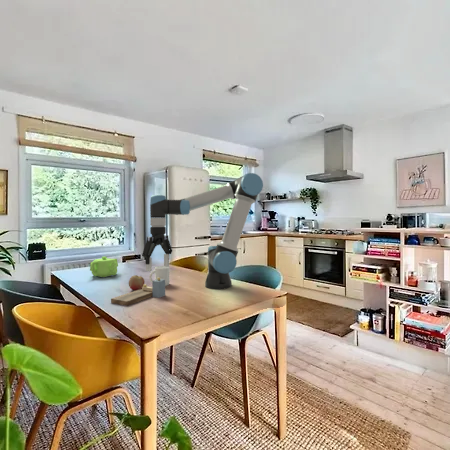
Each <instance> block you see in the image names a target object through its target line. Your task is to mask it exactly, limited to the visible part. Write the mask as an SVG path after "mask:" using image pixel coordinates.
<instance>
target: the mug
mask: <svg viewBox="0 0 450 450" xmlns="http://www.w3.org/2000/svg"><path fill="white" fill-rule="evenodd" d="M153 274H154V280H157V278H160V279H164V280H165V287H167V286H169V285H170V281H171V280H170V266H169V267H164V265H160V266H155V267H154V270H152V271H150V273H149V276H148V278H149V281H150V282H151V283H152V281H154V280H153Z"/></svg>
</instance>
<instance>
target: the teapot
mask: <svg viewBox="0 0 450 450" xmlns="http://www.w3.org/2000/svg"><path fill="white" fill-rule="evenodd" d="M118 267H119V264H118V258H109V257H108V256H101V258H97V259H94V260H93V261H91V262H90V266H89V271H91V275H92V276H93V277H96V276H98V277H101V278H102V277H104V278H106V277H112V276H111V275H113V276H115V275H117V274H118Z"/></svg>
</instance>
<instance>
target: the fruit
mask: <svg viewBox="0 0 450 450" xmlns="http://www.w3.org/2000/svg"><path fill="white" fill-rule="evenodd" d="M145 284H146V281H145V278H144V277H143V276H142V275H141V276H140V275H138V274H137V275H135V274H134V275H132V276H131V277H130V278H129V280H128V287H129V288H130V289H131V290H132V291H136V290H139V289H142V287H143V285H145Z"/></svg>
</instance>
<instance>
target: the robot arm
mask: <svg viewBox="0 0 450 450" xmlns="http://www.w3.org/2000/svg"><path fill="white" fill-rule="evenodd" d="M263 188H264V182H263V179H262V177H261V176H260V175H259V174H257V173H254V172H250V173H249V172H248V173H245V174H244V175H241V176H240V177H238V178H237V179H235V180H232V181H230V182H227V184H225V185H224V186H220V187H218V188H215V189H210V190H207V191H203V192H201V193H198V194H194V195H191V196H187V197H184V198H181V199H167V197H166V195H162V194H160V195H159V194H158V195H157V194H154V195H151V196H150V202H149V206H150V207H149V209H150V210H149V212H150V219H149V220H150V225H149V226H150V227H149V228H150V229H149V230H150V231H149V233H150V235H151V236H147V237H146V242H145V245H144V248H143V251H142V254H141V256H142V257H143V258H145V272H152V271H153V270H152V269H153V268H152V266H153V265H152V254H153V252H154V250H155V249H156V247H157V246H160V247H161V249H162V251H163V252H164V254H163V266H164V267H169V268H170V255H171V254H172V253H173V248H172V245H171V242H170V240H169V238H170V237H169V235H165V234H166V233H167V232H166V231H167V227H166V225H167V216H168V215H175V216H178V215H179V216H180V215H182V216H185V215H187V216H188V215H189V214H190V211H194V210H197V209H201V208H204V207H207V206H209V205H213V204H217V203H219V202H222V201H226V200H229V199H231V200H235V201H234V203H233V208H232V209H231V212H230V216H229V218H228V220H227V221H228V222H227V224H226V227H225V230H224V233H223V237H222V238H221V241H220V242H219V243H217V244H216V245H211V246H209V247H208V248H207V259H208V260H207V269H208V270H207V276H206V279H205V283H204V284H205V285H204V286H205V288H208V289H210V290H223V289H224V288H225V289H229V288H232V286H233V284H232V278H231V276H230V273H231V272H233V271H234V270H235V269H236V267H237V263H238V261H237V260H238V259H237V256H238V253H239V249H238V245H239V241H240V239H241V236H242V233H243V230H244V227H245V224H246V221H247V218H248V216H249V213H250V210H251V208H252V205H253V204H254V203H256V201H257V198H258V195H259V194H260V193H261V192H262V191H263Z"/></svg>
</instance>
